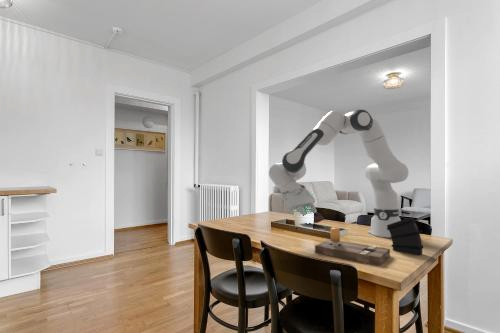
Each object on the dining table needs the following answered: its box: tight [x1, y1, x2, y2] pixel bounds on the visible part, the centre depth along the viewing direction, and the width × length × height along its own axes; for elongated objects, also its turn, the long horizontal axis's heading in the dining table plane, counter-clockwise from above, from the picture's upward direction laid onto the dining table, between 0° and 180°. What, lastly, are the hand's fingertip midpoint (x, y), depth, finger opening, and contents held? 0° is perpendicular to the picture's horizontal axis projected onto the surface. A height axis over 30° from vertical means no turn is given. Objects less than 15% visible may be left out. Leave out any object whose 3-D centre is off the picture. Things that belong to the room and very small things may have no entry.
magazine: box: [387, 216, 424, 256], centre depth 119 cm, size 4×13×15 cm, turn 42°
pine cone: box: [313, 211, 325, 224], centre depth 178 cm, size 18×10×10 cm, turn 51°
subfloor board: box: [314, 238, 391, 266], centre depth 116 cm, size 14×26×3 cm, turn 50°
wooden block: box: [330, 226, 341, 246], centre depth 121 cm, size 4×4×10 cm
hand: (310, 213), depth 129 cm, fingers open, 8 cm apart
